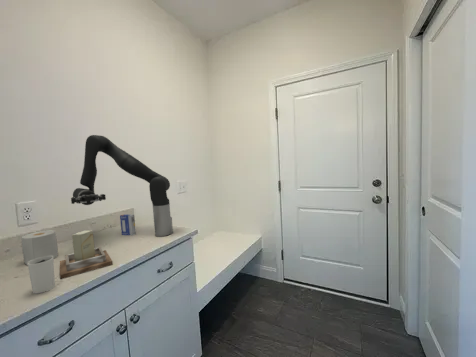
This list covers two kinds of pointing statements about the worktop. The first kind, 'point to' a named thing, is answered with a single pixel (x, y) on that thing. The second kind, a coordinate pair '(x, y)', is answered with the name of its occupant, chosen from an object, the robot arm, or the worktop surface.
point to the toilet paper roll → (39, 245)
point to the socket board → (84, 263)
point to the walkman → (127, 225)
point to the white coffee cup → (41, 274)
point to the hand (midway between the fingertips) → (90, 199)
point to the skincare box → (83, 245)
